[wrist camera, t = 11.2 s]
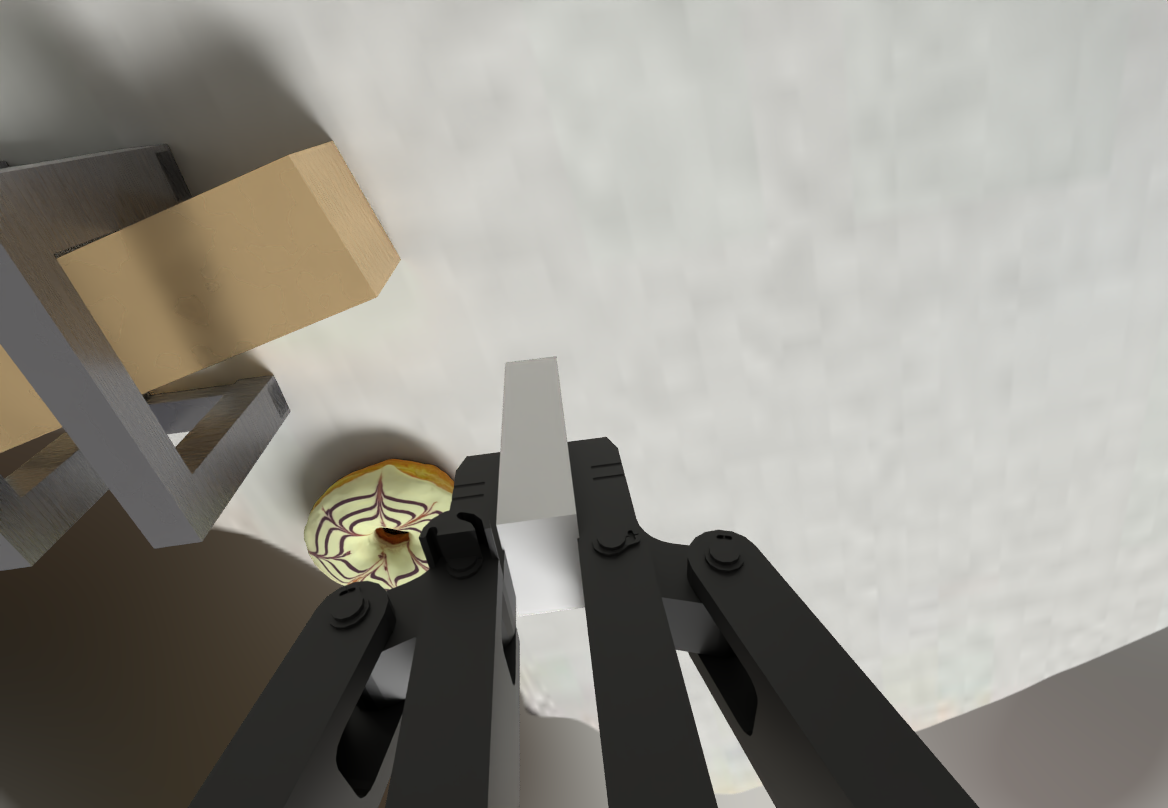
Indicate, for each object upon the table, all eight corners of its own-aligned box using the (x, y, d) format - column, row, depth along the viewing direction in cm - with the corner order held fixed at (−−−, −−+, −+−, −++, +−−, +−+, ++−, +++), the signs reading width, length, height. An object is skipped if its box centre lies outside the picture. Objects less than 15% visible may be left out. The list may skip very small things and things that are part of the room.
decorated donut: (507, 501, 37) (507, 541, 34) (417, 583, 41) (409, 626, 37) (379, 423, 33) (365, 460, 29) (289, 522, 36) (267, 565, 33)
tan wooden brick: (334, 140, 25) (286, 155, 19) (401, 258, 28) (376, 298, 22) (-18, 297, 26) (-149, 349, 21) (83, 391, 29) (-9, 457, 24)
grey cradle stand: (-43, 165, 23) (-389, 217, 14) (167, 143, 24) (-42, 180, 15) (135, 432, 31) (-18, 573, 22) (290, 411, 31) (201, 541, 22)
